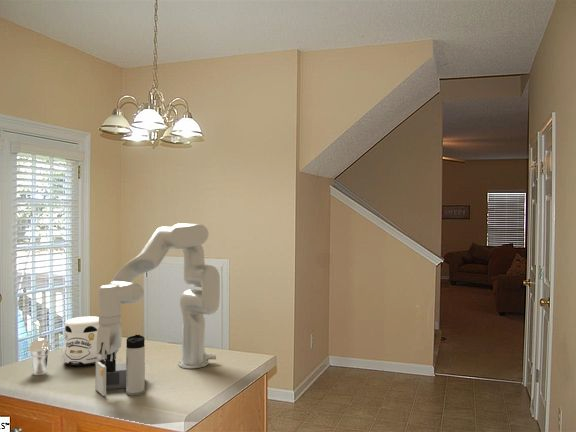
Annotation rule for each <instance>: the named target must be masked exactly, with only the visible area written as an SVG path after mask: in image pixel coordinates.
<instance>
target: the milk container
mask: <svg viewBox="0 0 576 432" xmlns="http://www.w3.org/2000/svg"><path fill="white" fill-rule="evenodd" d="M98 327H99V316H93V315H92V316H79V317H77V316H76V317H73V318H70V319H67V320H66V321H65V322H64V345H63V349H62V359H63V361H64V363H65V364H68V365H69V366H78V367H79V366H90V365H95V364H96V361H99V362H100V363H101V362H102V361H104V359H101V354H102V353H101V354H97V333H98Z"/></svg>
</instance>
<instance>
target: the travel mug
mask: <svg viewBox="0 0 576 432" xmlns="http://www.w3.org/2000/svg"><path fill="white" fill-rule="evenodd" d="M125 346H126V349H125V350H126V351H125V352H126V356H125V357H126V358H125V359H126V361H125V362H126V363H125V364H126V390H125V394H126V395H128V396H130V397H136V396H140V395H143V394H144V393H145V384H146V383H145V380H146V377H145V376H146V362H145V357H146V356H145V354H146V351H145V350H146V348H145V336H143V335H141V334H135V335H132V336H129V337H127V338H126V345H125Z"/></svg>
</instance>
